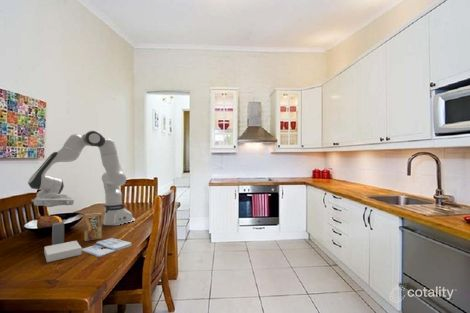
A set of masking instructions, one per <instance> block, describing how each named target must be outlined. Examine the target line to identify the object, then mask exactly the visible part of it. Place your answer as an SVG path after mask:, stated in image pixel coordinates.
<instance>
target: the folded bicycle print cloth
mask: <svg viewBox="0 0 470 313" xmlns="http://www.w3.org/2000/svg"><path fill="white" fill-rule="evenodd" d="M132 244H133V243H132V242H130V241H125V240H121V239H118V238H114V237H111V238H107V239H103V240H99V241H95V244H93V245H91V246H87V247H85V248H83V247H82V248H81V252H84V253H87V254H89V255H93V256H95V257H96V258H101V257H104V256H106V254H107V255H108V254H112V253H115V252H118V251H120V250H123V249H126V248H129V247H131V246H132V247H133V245H132ZM101 248H103V249H101Z"/></svg>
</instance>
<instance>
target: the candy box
mask: <svg viewBox="0 0 470 313" xmlns="http://www.w3.org/2000/svg"><path fill="white" fill-rule="evenodd" d="M102 215H103V214H102V212H96V213H85V214H84V241H85V242H87V241H95V240H101V239H102V225H103V222H102Z"/></svg>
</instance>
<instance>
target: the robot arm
mask: <svg viewBox="0 0 470 313" xmlns="http://www.w3.org/2000/svg"><path fill="white" fill-rule="evenodd" d="M86 146H90V147H98V150H99V153H100V159H101V163H102V166H103V168H104V170H105V172H104V173H103V174H102V175H101V180H102V184H103V188H104V195H105V198H104V199H105V202H104V203H105V204H104V218H103V222H102V225H103V226H120V224H121V225H125V224H124V223H126V224H129V223H128V222H130V223H133V222H132V221H134V222H136V221H135V220H136V218H135V217H133V213H132V212H131V211H130V210H128V209H127V208H126V207H127V206H128V205H127V204H126V203H123V202H122V201H123V198H122V197H123V193H122V191H121V188H120V187H121V186H124V185H125V184H126V183H127V176H126V174H125V173H124V172H123V169H122V167H121V164H120V160H119V156H118V151H117V147H116V144H115V141H114V140H113V139H112V138H105V137H104V136H103V135H102V133H101V132H99V131H97V130H90V131H87V132H86V133H85V134H83V135H82V134H77V133H74V134H71V135H70V136H69V137H68V138H67V139H66V141H65V142H64V144H63V145H62V147H61V149H59V150H57V151H54V152H52V153H51V154H50V155H49V156H48V157H47V158H46V159H45V160H44V162H43V163H42V164H41V165H40V167H39V168H38V169H37V170H36V171H35V172H34V173H33V174H32V175H31V177H29V179H28V182H27V184H28V186H29V187H30V188H31V189H33V190H39V191H38V192H37V193H36V197H34V198H33V199H31V202H33V205H34V206H37V207H38V206H42V207H43V206H45V207H47V208H53V207H57V206H59V207H60V206H73V205H74V202H75V200H74V198H72V197H71V196H70V197H69V196H68V195H66V194H61V193H62V192H63V190H64V188H65V185H64V182H63V179H61V178H58V177H54V176H50V175H46V174H47V172H48V171H49V170H50V169H51V167H52V166H53V165H54V164H57V163H70V162H75V161H76V160H77V159H78V158H79V156H80V154H81V153H82V151H83V149H84V148H85V147H86Z"/></svg>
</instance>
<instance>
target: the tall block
mask: <svg viewBox="0 0 470 313" xmlns="http://www.w3.org/2000/svg"><path fill="white" fill-rule="evenodd" d="M51 228H52V230H51V231H52V232H51V245H56V244H61V243H65V223H64V221H60V222H53V223H52V226H51Z"/></svg>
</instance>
